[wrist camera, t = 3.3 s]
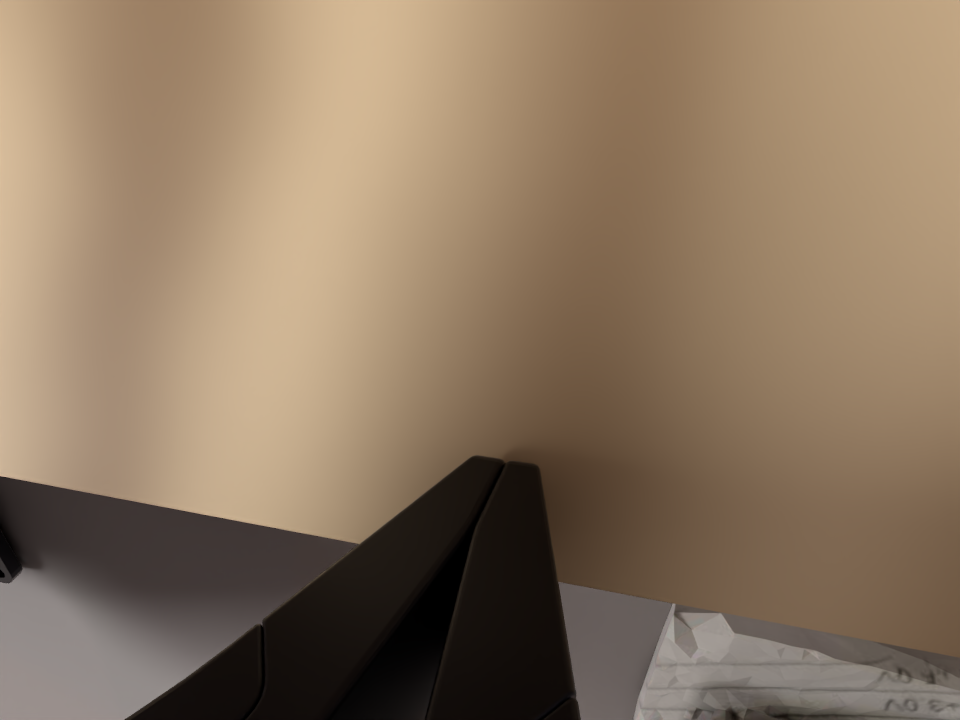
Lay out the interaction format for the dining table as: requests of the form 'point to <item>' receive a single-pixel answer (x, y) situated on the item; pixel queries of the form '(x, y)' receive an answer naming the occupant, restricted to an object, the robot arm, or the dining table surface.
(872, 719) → the packaged product
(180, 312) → the oak plank
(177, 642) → the dining table surface
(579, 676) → the dining table surface
